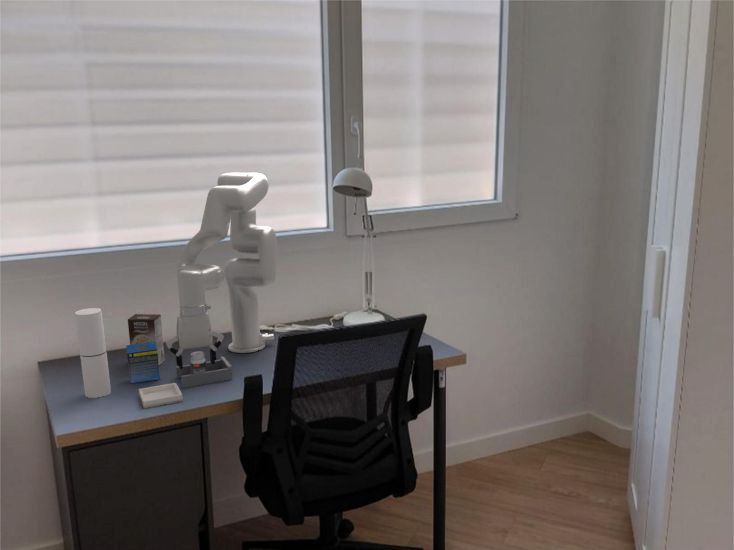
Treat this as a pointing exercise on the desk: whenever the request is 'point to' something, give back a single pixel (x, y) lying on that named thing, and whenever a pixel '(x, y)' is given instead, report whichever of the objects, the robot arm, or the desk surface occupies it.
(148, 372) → the label tape cartridge
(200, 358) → the pill bottle
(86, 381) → the cylindrical container
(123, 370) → the desk surface
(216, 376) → the bay
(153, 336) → the coffee box
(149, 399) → the tray
